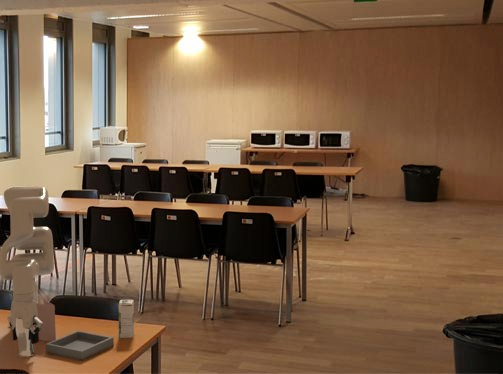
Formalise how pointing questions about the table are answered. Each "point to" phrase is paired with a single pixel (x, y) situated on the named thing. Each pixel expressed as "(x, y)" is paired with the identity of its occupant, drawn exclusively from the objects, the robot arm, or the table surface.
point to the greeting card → (47, 321)
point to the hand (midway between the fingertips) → (25, 341)
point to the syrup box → (126, 318)
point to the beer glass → (24, 340)
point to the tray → (79, 345)
